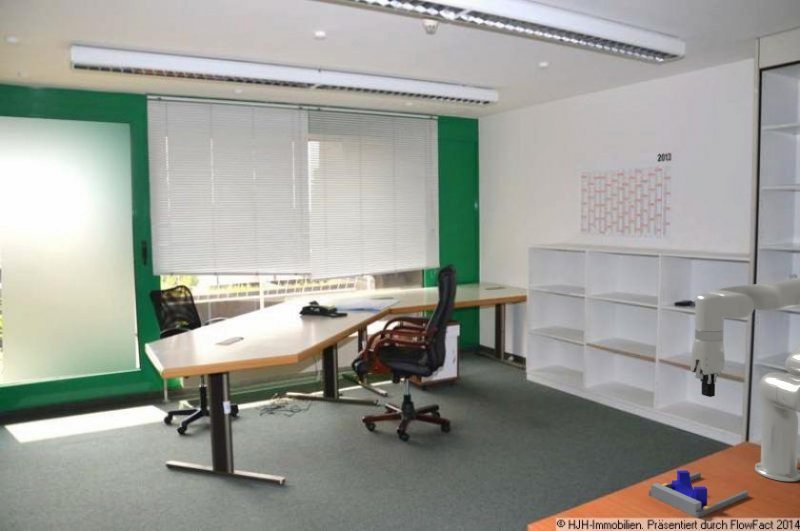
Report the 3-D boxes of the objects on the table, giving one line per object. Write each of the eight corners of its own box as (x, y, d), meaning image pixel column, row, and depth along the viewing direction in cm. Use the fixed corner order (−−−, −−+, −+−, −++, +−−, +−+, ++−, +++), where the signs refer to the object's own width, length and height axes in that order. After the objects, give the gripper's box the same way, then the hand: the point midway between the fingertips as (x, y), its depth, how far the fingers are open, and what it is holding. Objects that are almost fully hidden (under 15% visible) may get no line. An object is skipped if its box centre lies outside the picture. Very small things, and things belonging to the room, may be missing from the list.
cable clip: (671, 490, 178) (672, 470, 178) (687, 489, 178) (687, 470, 178) (690, 510, 166) (690, 489, 166) (706, 509, 166) (707, 489, 166)
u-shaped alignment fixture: (698, 476, 186) (698, 465, 186) (748, 496, 172) (748, 484, 172) (648, 495, 175) (648, 483, 175) (698, 518, 161) (698, 505, 161)
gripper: (712, 330, 185) (711, 388, 187) (681, 336, 178) (680, 396, 179) (736, 334, 179) (735, 394, 180) (705, 340, 171) (704, 403, 173)
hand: (708, 395), depth 180 cm, fingers closed
